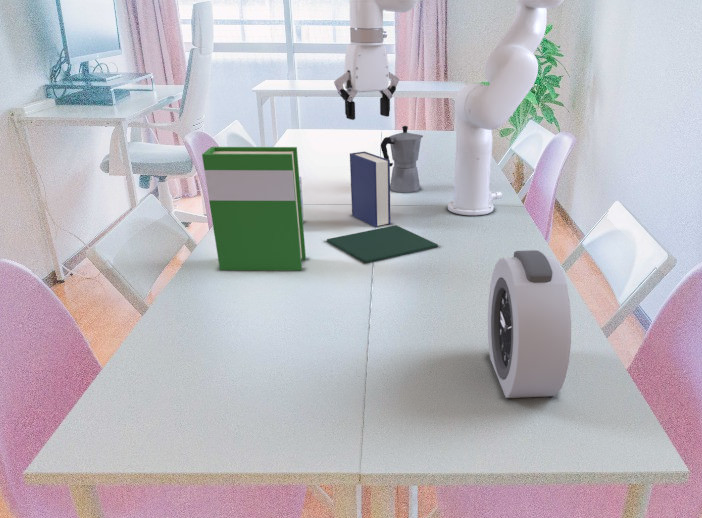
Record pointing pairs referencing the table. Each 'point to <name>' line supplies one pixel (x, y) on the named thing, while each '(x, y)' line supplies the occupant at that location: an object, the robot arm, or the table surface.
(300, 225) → the hardback book
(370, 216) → the navy book
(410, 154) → the coffeepot
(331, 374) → the table surface
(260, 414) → the table surface
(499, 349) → the alarm clock
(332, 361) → the table surface
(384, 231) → the desk pad
